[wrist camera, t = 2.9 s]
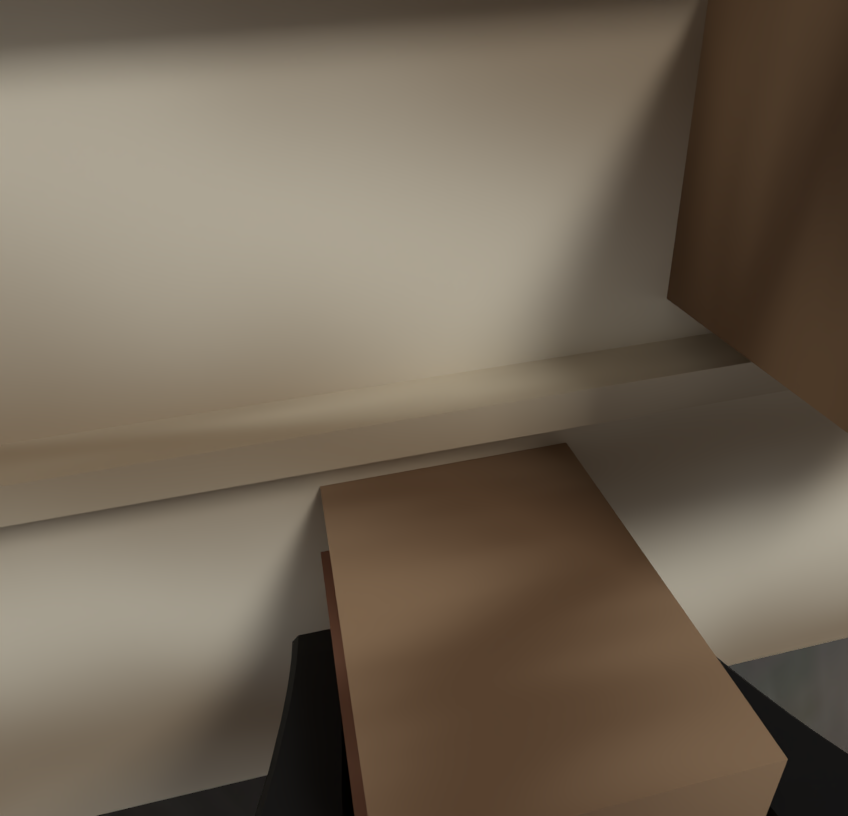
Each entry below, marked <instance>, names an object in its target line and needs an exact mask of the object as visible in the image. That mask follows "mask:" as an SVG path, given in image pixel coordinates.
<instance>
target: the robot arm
mask: <svg viewBox="0 0 848 816" xmlns="http://www.w3.org/2000/svg"><path fill="white" fill-rule="evenodd" d="M717 659H718V660H719V661H720V663H721V664H722V666H723V667H724V669H725V670H726V671H727V673H728V674H729V676H730V677H731V679H732V680H733V681H734V683H735V684H736V686H737V687H738V689H739V690H740V691H741V693H742V694H743V696H744V697H745V699H746V700H747V701H748V703H749V704H750V706H751V707H752V709H753V710H754V711H755V713H756V714H757V716H758V717H759V719H760V720H761V721H762V723H763V724H764V726H765V727H766V729H767V730H768V731H769V733H770V734H771V736H772V737H773V739H774V740H775V741H776V743H777V744H778V746H779V747H780V749H781V750H782V751H783V753H784V754H785V756H786V757H787V759H788V760H787V763H786V765H785V768H784V771H783V773H782V776H781V778H780V781H779V783H778V786H777V789H776V791H775V794H774V796H773V799H772V802H771V804H770V807H769V809H768V812H767V814H766V816H848V754H847V753H846V752H844V751H843V750H841V749H840V748H838V747H837V746H835V745H834V744H832V743H831V742H829V741H828V740H826V739H825V738H823V737H822V736H820V735H819V734H818V733H816V732H815V731H813V730H812V729H810V728H809V727H808V726H806V725H805V724H803V723H802V722H801V721H799V720H798V719H796V718H795V717H794V716H792V715H791V714H789V713H788V712H787V711H785V710H784V709H783V708H781V707H780V706H779V705H777V704H776V703H775V702H773V701H772V700H771V699H769V698H768V697H767V696H765V695H764V694H763V693H761V692H760V691H759V690H757V689H756V688H755V687H754V686H752V685H751V684H750V683H748V682H747V681H746V680H745V679H743V678H742V677H741V676H740V675H738V674H737V673H736V672H735V671H733V670H732V669H731V668H730V667H728V666H727V665H726V664H725V663H724V662H722V661H721V660H720V659H719V658H718V657H717ZM255 816H354V808H353V800H352V793H351V785H350V777H349V769H348V762H347V754H346V746H345V738H344V730H343V723H342V715H341V707H340V699H339V692H338V684H337V676H336V668H335V660H334V653H333V645H332V637H331V629H326V630H322V631H317V632H312V633H307V634H302V635H298V636H297V637H296V638H295V639H294V640H293V641H292V656H291V665H290V673H289V680H288V686H287V692H286V697H285V702H284V707H283V712H282V717H281V722H280V726H279V730H278V734H277V738H276V743H275V747H274V751H273V755H272V759H271V763H270V767H269V771H268V774H267V778H266V782H265V785H264V788H263V791H262V795H261V798H260V801H259V805H258V808H257V811H256V814H255Z"/></svg>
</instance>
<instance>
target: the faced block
mask: <svg viewBox="0 0 848 816" xmlns="http://www.w3.org/2000/svg"><path fill="white" fill-rule="evenodd" d="M667 299H668V300H669V301H671V302H672V303H673V304H675V305H676V306H677V307H679V308H680V309H681V310H683V311H684V312H685V313H687V314H688V315H689V316H691V317H692V318H693V319H695V320H696V321H697V322H699V323H700V324H702V325H703V326H704V327H706V328H707V329H708V330H710V331H711V332H712V333H714V334H715V335H716V336H718V337H719V338H720V339H722V340H723V341H724V342H726V343H727V344H728V345H730V346H731V347H732V348H734V349H735V350H736V351H738V352H739V353H741V354H742V355H743V356H745V357H746V358H747V359H749V360H750V361H751V362H753V363H754V364H755V365H757V366H758V367H759V368H761V369H762V370H763V371H765V372H766V373H767V374H769V375H770V376H771V377H773V378H774V379H776V380H777V381H778V382H780V383H781V384H782V385H784V386H785V387H786V388H788V389H789V390H790V391H792V392H793V393H794V394H796V395H797V396H798V397H800V398H801V399H802V400H804V401H805V402H806V403H808V404H809V405H810V406H812V407H813V408H815V409H816V410H817V411H819V412H820V413H821V414H823V415H824V416H825V417H827V418H828V419H829V420H831V421H832V422H833V423H835V424H836V425H837V426H839V427H840V428H841V429H843V430H844V431H845V432H847V433H848V0H708V5H707V12H706V19H705V27H704V34H703V41H702V48H701V55H700V63H699V70H698V77H697V84H696V91H695V98H694V106H693V113H692V120H691V127H690V134H689V142H688V149H687V156H686V163H685V170H684V177H683V185H682V192H681V199H680V206H679V213H678V221H677V228H676V235H675V242H674V249H673V257H672V264H671V271H670V278H669V285H668V292H667Z"/></svg>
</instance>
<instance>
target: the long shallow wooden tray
mask: <svg viewBox="0 0 848 816" xmlns="http://www.w3.org/2000/svg"><path fill="white" fill-rule="evenodd" d="M707 5H708V0H0V816H97V815H101V814H105V813H110V812H114V811H118V810H122V809H127V808H131V807H135V806H139V805H143V804H148V803H152V802H156V801H160V800H164V799H169V798H173V797H177V796H181V795H186V794H190V793H194V792H198V791H202V790H207V789H211V788H215V787H219V786H223V785H228V784H232V783H236V782H240V781H245V780H249V779H253V778H257V777H261V776H266V775H267V774H268V771H269V767H270V763H271V759H272V755H273V751H274V747H275V743H276V738H277V734H278V730H279V726H280V722H281V717H282V712H283V707H284V702H285V697H286V692H287V686H288V680H289V673H290V665H291V656H292V641H293V640H294V639H295V638H296V637H297V636H298V635H302V634H307V633H312V632H317V631H322V630H326V629H330V622H329V614H328V606H327V598H326V591H325V583H324V575H323V567H322V559H321V552H324V551H329V545H328V538H327V531H326V524H325V517H324V510H323V503H322V496H321V489H320V486H325V485H331V484H336V483H342V482H348V481H353V480H359V479H364V478H370V477H376V476H381V475H387V474H393V473H398V472H404V471H409V470H415V469H421V468H426V467H432V466H437V465H443V464H449V463H454V462H460V461H466V460H471V459H477V458H482V457H488V456H494V455H499V454H505V453H510V452H516V451H522V450H527V449H533V448H539V447H544V446H550V445H555V444H561V443H567V444H568V446H569V447H570V449H571V450H572V451H573V453H574V454H575V456H576V457H577V459H578V460H579V461H580V463H581V464H582V466H583V467H584V469H585V470H586V471H587V473H588V474H589V476H590V477H591V479H592V480H593V481H594V483H595V484H596V486H597V487H598V489H599V490H600V491H601V493H602V494H603V496H604V497H605V499H606V500H607V501H608V503H609V504H610V506H611V507H612V509H613V510H614V511H615V513H616V514H617V516H618V517H619V519H620V520H621V521H622V523H623V524H624V526H625V527H626V529H627V530H628V531H629V533H630V534H631V536H632V537H633V539H634V540H635V541H636V543H637V544H638V546H639V547H640V549H641V550H642V551H643V553H644V554H645V556H646V557H647V559H648V560H649V561H650V563H651V564H652V566H653V567H654V569H655V570H656V571H657V573H658V574H659V576H660V577H661V579H662V580H663V581H664V583H665V584H666V586H667V587H668V589H669V590H670V591H671V593H672V594H673V596H674V597H675V599H676V600H677V601H678V603H679V604H680V606H681V607H682V609H683V610H684V611H685V613H686V614H687V616H688V617H689V619H690V620H691V621H692V623H693V624H694V626H695V627H696V629H697V630H698V631H699V633H700V634H701V636H702V637H703V639H704V640H705V641H706V643H707V644H708V646H709V647H710V649H711V650H712V651H713V653H714V654H715V656H716V657H718V658H719V659H720V660H721V661H722V662H724V663H725V664H726V665H727V666H729V665H733V664H738V663H742V662H746V661H750V660H754V659H759V658H763V657H767V656H771V655H776V654H780V653H784V652H788V651H792V650H797V649H801V648H805V647H809V646H813V645H818V644H822V643H826V642H830V641H834V640H839V639H843V638H847V637H848V433H847V432H845V431H844V430H843V429H841V428H840V427H839V426H837V425H836V424H835V423H833V422H832V421H831V420H829V419H828V418H827V417H825V416H824V415H823V414H821V413H820V412H819V411H817V410H816V409H815V408H813V407H812V406H810V405H809V404H808V403H806V402H805V401H804V400H802V399H801V398H800V397H798V396H797V395H796V394H794V393H793V392H792V391H790V390H789V389H788V388H786V387H785V386H784V385H782V384H781V383H780V382H778V381H777V380H776V379H774V378H773V377H771V376H770V375H769V374H767V373H766V372H765V371H763V370H762V369H761V368H759V367H758V366H757V365H755V364H754V363H753V362H751V361H750V360H749V359H747V358H746V357H745V356H743V355H742V354H741V353H739V352H738V351H736V350H735V349H734V348H732V347H731V346H730V345H728V344H727V343H726V342H724V341H723V340H722V339H720V338H719V337H718V336H716V335H715V334H714V333H712V332H711V331H710V330H708V329H707V328H706V327H704V326H703V325H702V324H700V323H699V322H697V321H696V320H695V319H693V318H692V317H691V316H689V315H688V314H687V313H685V312H684V311H683V310H681V309H680V308H679V307H677V306H676V305H675V304H673V303H672V302H671V301H669V300H668V299H667V292H668V285H669V278H670V271H671V264H672V257H673V249H674V242H675V235H676V228H677V221H678V213H679V206H680V199H681V192H682V185H683V177H684V170H685V163H686V156H687V149H688V142H689V134H690V127H691V120H692V113H693V106H694V98H695V91H696V84H697V77H698V70H699V63H700V55H701V48H702V41H703V34H704V27H705V19H706V12H707Z"/></svg>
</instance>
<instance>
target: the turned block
mask: <svg viewBox="0 0 848 816" xmlns="http://www.w3.org/2000/svg"><path fill="white" fill-rule="evenodd" d="M320 489H321V496H322V503H323V510H324V517H325V524H326V531H327V538H328V545H329V551H324V552H321V559H322V567H323V575H324V583H325V591H326V598H327V606H328V614H329V622H330V629H331V637H332V645H333V653H334V660H335V668H336V676H337V684H338V692H339V699H340V707H341V715H342V723H343V730H344V738H345V746H346V754H347V762H348V769H349V777H350V785H351V793H352V800H353V808H354V816H766V814H767V812H768V809H769V807H770V804H771V802H772V799H773V796H774V794H775V791H776V789H777V786H778V783H779V781H780V778H781V776H782V773H783V771H784V768H785V765H786V763H787V760H788V759H787V757H786V756H785V754H784V753H783V751H782V750H781V749H780V747H779V746H778V744H777V743H776V741H775V740H774V739H773V737H772V736H771V734H770V733H769V731H768V730H767V729H766V727H765V726H764V724H763V723H762V721H761V720H760V719H759V717H758V716H757V714H756V713H755V711H754V710H753V709H752V707H751V706H750V704H749V703H748V701H747V700H746V699H745V697H744V696H743V694H742V693H741V691H740V690H739V689H738V687H737V686H736V684H735V683H734V681H733V680H732V679H731V677H730V676H729V674H728V673H727V671H726V670H725V669H724V667H723V666H722V664H721V663H720V661H719V660H718V659H717V657H716V656H715V654H714V653H713V651H712V650H711V649H710V647H709V646H708V644H707V643H706V641H705V640H704V639H703V637H702V636H701V634H700V633H699V631H698V630H697V629H696V627H695V626H694V624H693V623H692V621H691V620H690V619H689V617H688V616H687V614H686V613H685V611H684V610H683V609H682V607H681V606H680V604H679V603H678V601H677V600H676V599H675V597H674V596H673V594H672V593H671V591H670V590H669V589H668V587H667V586H666V584H665V583H664V581H663V580H662V579H661V577H660V576H659V574H658V573H657V571H656V570H655V569H654V567H653V566H652V564H651V563H650V561H649V560H648V559H647V557H646V556H645V554H644V553H643V551H642V550H641V549H640V547H639V546H638V544H637V543H636V541H635V540H634V539H633V537H632V536H631V534H630V533H629V531H628V530H627V529H626V527H625V526H624V524H623V523H622V521H621V520H620V519H619V517H618V516H617V514H616V513H615V511H614V510H613V509H612V507H611V506H610V504H609V503H608V501H607V500H606V499H605V497H604V496H603V494H602V493H601V491H600V490H599V489H598V487H597V486H596V484H595V483H594V481H593V480H592V479H591V477H590V476H589V474H588V473H587V471H586V470H585V469H584V467H583V466H582V464H581V463H580V461H579V460H578V459H577V457H576V456H575V454H574V453H573V451H572V450H571V449H570V447H569V446H568V444H567V443H561V444H555V445H550V446H544V447H539V448H533V449H527V450H522V451H516V452H510V453H505V454H499V455H494V456H488V457H482V458H477V459H471V460H466V461H460V462H454V463H449V464H443V465H437V466H432V467H426V468H421V469H415V470H409V471H404V472H398V473H393V474H387V475H381V476H376V477H370V478H364V479H359V480H353V481H348V482H342V483H336V484H331V485H325V486H320Z"/></svg>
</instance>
